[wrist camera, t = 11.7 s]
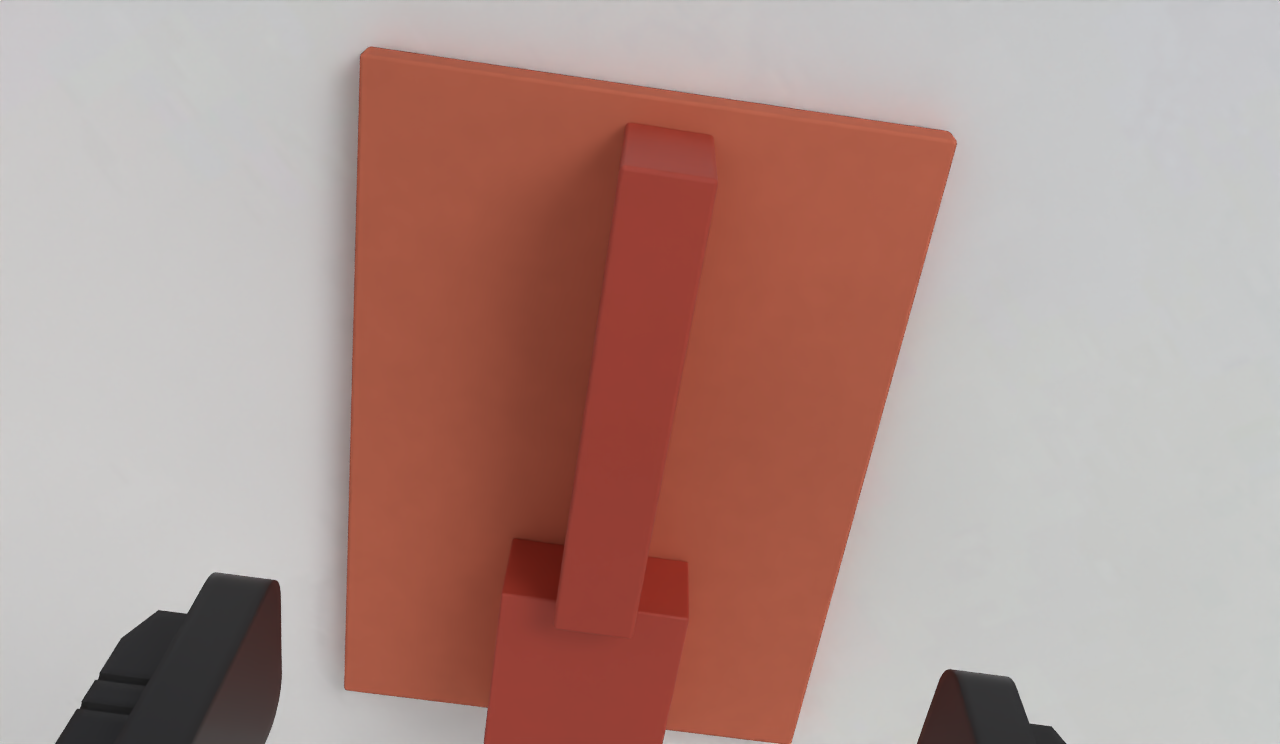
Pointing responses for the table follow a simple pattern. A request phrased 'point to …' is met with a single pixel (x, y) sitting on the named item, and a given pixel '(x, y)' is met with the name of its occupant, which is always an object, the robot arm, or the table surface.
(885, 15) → the table surface
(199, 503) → the table surface
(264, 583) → the robot arm
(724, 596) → the red mat
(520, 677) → the red wooden stick
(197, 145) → the table surface
